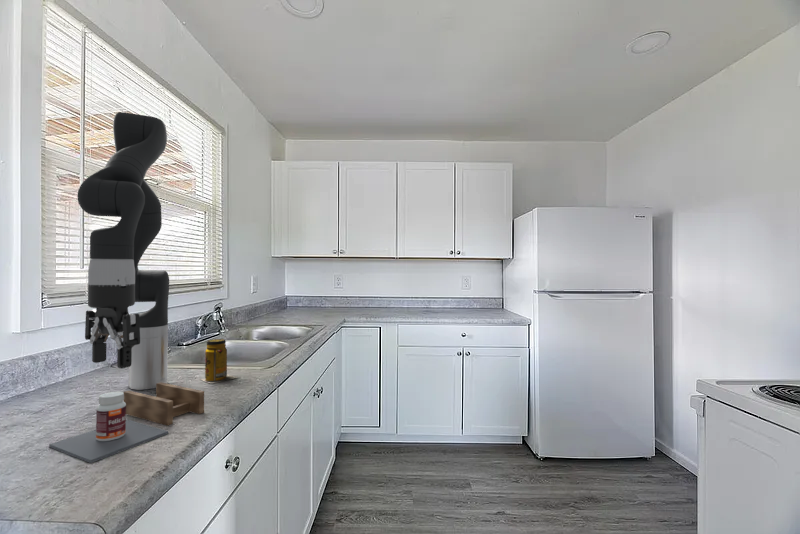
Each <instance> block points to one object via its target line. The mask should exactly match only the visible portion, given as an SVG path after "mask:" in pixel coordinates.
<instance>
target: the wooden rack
mask: <svg viewBox="0 0 800 534" xmlns="http://www.w3.org/2000/svg"><path fill="white" fill-rule="evenodd" d="M123 392H124V400H123V401H124V402H125V403H126V416H131V417H135V418H138V419H141V420H145V421H148V422H149V421H150V422H153V423H156V424H161V425H164V426H166V427H167V426H171V425H173V424H174V418H175V417H178V416H182V415H184V414H187V413H193V414H197V415H201V414H204V413H205V391H204V390H201V389H197V388H196V389H195V388H190V387H186V386H179V385H177V384H176V385H175V384H170V383H168V382H167V383H162V382H160V383H156V388H155V395H150V394H145V393H141V392H136V391H132V390H126V391H123Z"/></svg>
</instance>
